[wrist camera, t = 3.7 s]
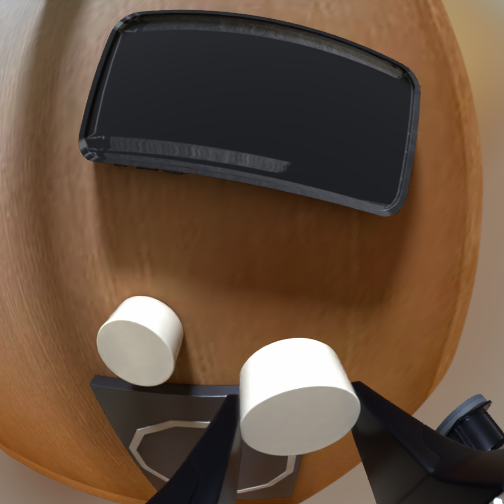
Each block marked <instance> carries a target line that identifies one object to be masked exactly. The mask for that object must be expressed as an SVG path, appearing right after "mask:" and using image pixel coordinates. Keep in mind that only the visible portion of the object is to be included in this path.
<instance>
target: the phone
mask: <svg viewBox="0 0 504 504" xmlns="http://www.w3.org/2000/svg"><path fill="white" fill-rule="evenodd" d="M420 95H421V92H420V85H419V82H418V80H417V78H416V76H415V75H414V73H413V72H412V71H411V70H410V69H409V68H408V67H406V66H405V65H403V64H401V63H399V62H397V61H395V60H393V59H391V58H389V57H387V56H385V55H383V54H381V53H379V52H376V51H374V50H372V49H369V48H367V47H365V46H362V45H360V44H357V43H355V42H352V41H349V40H347V39H344V38H341V37H338V36H335V35H332V34H329V33H326V32H323V31H320V30H316V29H313V28H309V27H306V26H302V25H298V24H294V23H290V22H285V21H281V20H276V19H271V18H265V17H260V16H253V15H247V14H239V13H230V12H219V11H204V10H159V11H144V12H137V13H132V14H130V15H128V16H126V17H124V18H123V19H121V20H120V21H119V22H118V23H117V24H116V25H115V26H114V28H113V30H112V31H111V33H110V36H109V38H108V40H107V43H106V45H105V48H104V50H103V53H102V56H101V59H100V61H99V64H98V67H97V70H96V73H95V76H94V79H93V82H92V86H91V89H90V92H89V96H88V100H87V103H86V107H85V111H84V115H83V120H82V124H81V129H80V134H79V148H80V151H81V153H82V155H83V156H84V157H85V158H86V159H87V160H89V161H93V162H100V163H111V164H114V165H115V166H125V167H127V165H131V166H137V167H136V168H139V169H147V170H155V171H158V169H163V172H166V173H173V174H180V175H183V172H184V173H191V174H197V175H203V176H209V177H215V178H221V179H226V180H232V181H237V182H243V183H248V184H253V185H258V186H263V187H268V188H272V189H277V190H282V191H286V192H291V193H295V194H299V195H304V196H308V197H312V198H316V199H320V200H324V201H328V202H332V203H336V204H340V205H344V206H347V207H351V208H355V209H358V210H362V211H366V212H369V213H373V214H376V215H379V216H391V215H394V214H395V213H397V212H398V211H400V209H401V208H402V206H403V205H404V203H405V200H406V197H407V192H408V187H409V182H410V177H411V171H412V165H413V159H414V153H415V146H416V138H417V130H418V121H419V109H420Z"/></svg>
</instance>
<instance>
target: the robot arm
mask: <svg viewBox="0 0 504 504" xmlns="http://www.w3.org/2000/svg"><path fill="white" fill-rule="evenodd" d="M351 384H352V386H353V388H354V391H355V393H356V395H357V397H358V399H359V401H360V406H361V409H360V414H359V417H358V419H357V422H356V423H355V425H354V426H353V427H352V429H351V430H352V434H353V438H354V440H355V443H356V446H357V449H358V451H359V454H360V457H361V460H362V463H363V465H364V468H365V471H366V474H367V477H368V480H369V483H370V485H371V488H372V491H373V494H374V497H375V500H376V503H377V504H504V433H503V431H502V430H501V429H500V427H499V426H498V425H497V424H496V423H495V421H494V420H493V419H492V417H491V416H490V415H489V414H488V412H487V410H488V408H489V407H490V405H491V403H492V402H491V401H490V400H489V401H488V402H486V403H484V404H483V405H481V406H479V407H478V408H476V409H474V410H472V411H471V412H469V413H467V414H465V415H463V416H461V417H460V418H458V419H457V420H456V422H455V423H454V425H453V426H452V428H451V429H450V431H449V432H448V433H447V435H446V436H444V435H442V434H440V433H438V432H436V431H435V430H433V429H431V428H430V427H428V426H427V425H424V424H423V423H422V422H420V421H419V420H417V419H415V418H414V417H412V416H411V415H409V414H408V413H406V412H405V411H403V410H402V409H400V408H399V407H397V406H396V405H394V404H393V403H391V402H390V401H388V400H387V399H385V398H384V397H382V396H381V395H379V394H378V393H376V392H375V391H374V390H372V389H371V388H369V387H368V386H366V385H365V384H363V383H362V382H360V381H356V382H351ZM241 454H242V437H241V433H240V395H239V394H228V395H227V396H226V398H225V399H224V401H223V403H222V404H221V406H220V407H219V409H218V410H217V412H216V414H215V415H214V417H213V418H212V420H211V421H210V423H209V424H208V426H207V427H206V429H205V430H204V432H203V434H202V435H201V437H200V438H199V440H198V441H197V443H196V444H195V445H194V447H193V448H192V450H191V451H190V453H189V454H188V456H187V457H186V460H184V461H183V463H182V464H181V466H180V467H179V468H178V470H177V471H176V472H175V474H174V475H173V476H172V477H171V478H170V479H169V481H168V482H167V483H166V484H165V485H164V486H163V487H162V488H161V489H160V490H159V491H158V492H157V493H156V494H155V495H154V496H153V497H152V498H151V499H150V500H149V501H148V502H146V503H145V504H236V496H237V487H238V479H239V471H240V462H241Z"/></svg>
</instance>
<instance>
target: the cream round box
mask: <svg viewBox="0 0 504 504" xmlns="http://www.w3.org/2000/svg"><path fill="white" fill-rule="evenodd" d="M183 338H184V333H183V328H182V325H181V322H180V320H179V318H178V317H177V315H176V314H175V313H174V312H173V310H172V309H171V308H169V307H168V306H167V305H166V304H164V303H163V302H161V301H159V300H157V299H154V298H151V297H147V296H135V297H131V298H128V299H126V300H124V301H123V302H122V303H121V304H120V305H119V306H118V307H117V309H116V310H115V311H114V312H113V313H112V315H111V316H110V317H109V318H108V319H107V321H106V322H105V323H104V324H103V325H102V327H101V328H100V330H99V331H98V334H97V348H98V351H99V354H100V356H101V358H102V360H103V361H104V363H105V364H106V366H107V367H108V368H109V369H110V370H111V371H112V372H113V373H115V374H116V375H117V376H119V377H120V378H122V379H123V380H125V381H127V382H130V383H132V384H136V385H140V386H156V385H159V384H162V383H164V382H165V381H167V380H168V379H169V378H170V377H171V375H172V374H173V371H174V368H175V365H176V362H177V359H178V355H179V352H180V349H181V346H182V343H183Z"/></svg>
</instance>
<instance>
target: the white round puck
mask: <svg viewBox="0 0 504 504" xmlns="http://www.w3.org/2000/svg"><path fill="white" fill-rule="evenodd" d="M239 395H240V433H241V437H242V439H243V440H244V442H245V443H246V444H247V445H248V446H250V447H251V448H253V449H255V450H257V451H260V452H262V453H266V454H271V455H280V456H291V455H300V454H305V453H310V452H313V451H316V450H319V449H322V448H324V447H326V446H329V445H331V444H332V443H334V442H336V441H337V440H339V439H340V438H342V437H343V436H344V435H346V434H347V433H348V432H349V431H350V430H351V429H352V427H353V426H354V425H355V423H356V422H357V419H358V417H359V414H360V409H361V406H360V401H359V399H358V397H357V395H356V393H355V391H354V388H353V386H352V384H351V382H350V380H349V378H348V376H347V374H346V372H345V370H344V368H343V366H342V364H341V362H340V360H339V358H338V356H337V354H336V353H335V351H333V350H332V349H331V348H330V347H329V346H327V345H326V344H324V343H322V342H319V341H316V340H312V339H306V338H292V339H285V340H281V341H277V342H274V343H272V344H269V345H267V346H265V347H263V348H262V349H260V350H258V351H257V352H256V353H254V354H253V355H252V356H251V357H250V358H249V359H248V360H247V361H246V363H245V364H244V366H243V367H242V370H241V372H240V376H239Z"/></svg>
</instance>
